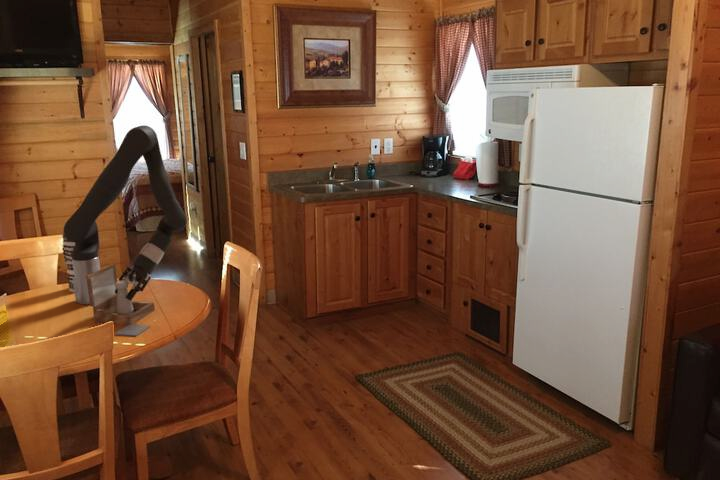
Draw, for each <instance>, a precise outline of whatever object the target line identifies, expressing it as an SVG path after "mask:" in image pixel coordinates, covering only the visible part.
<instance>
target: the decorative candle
mask: <svg viewBox="0 0 720 480" xmlns="http://www.w3.org/2000/svg"><path fill="white" fill-rule="evenodd" d="M61 235H62V246H61V247H62V249H61V250H62V254H63V255H64V256H63V259H64V263H65V264H66V267H67V269H66V270H67V271H66V272H67V273H66V276H67V280H68V282H67V284H68V288H69V289H68V290H69V292H72V293H75V292H74V285H73V278H75V276H74V269H73V262H72V256H71V253H72V250H73V249H74V246H75V242H70V241H69V240H67V239H66V237H65V235H64V231H63V232H62V233H61Z"/></svg>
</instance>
